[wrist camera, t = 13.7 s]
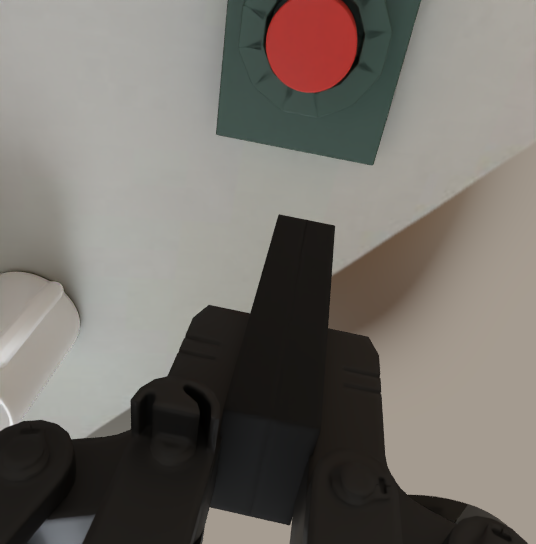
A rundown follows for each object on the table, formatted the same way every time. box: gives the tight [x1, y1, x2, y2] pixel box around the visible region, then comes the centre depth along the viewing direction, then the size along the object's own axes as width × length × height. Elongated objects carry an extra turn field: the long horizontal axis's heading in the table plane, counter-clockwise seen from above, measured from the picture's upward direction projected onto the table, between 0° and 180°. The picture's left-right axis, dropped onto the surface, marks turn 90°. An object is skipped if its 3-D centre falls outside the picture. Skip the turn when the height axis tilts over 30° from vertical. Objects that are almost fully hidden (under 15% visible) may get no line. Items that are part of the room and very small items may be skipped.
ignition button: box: [266, 0, 357, 93], centre depth 22 cm, size 4×4×2 cm
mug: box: [0, 272, 80, 431], centre depth 35 cm, size 12×8×10 cm
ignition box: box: [216, 0, 421, 165], centre depth 24 cm, size 12×9×4 cm
